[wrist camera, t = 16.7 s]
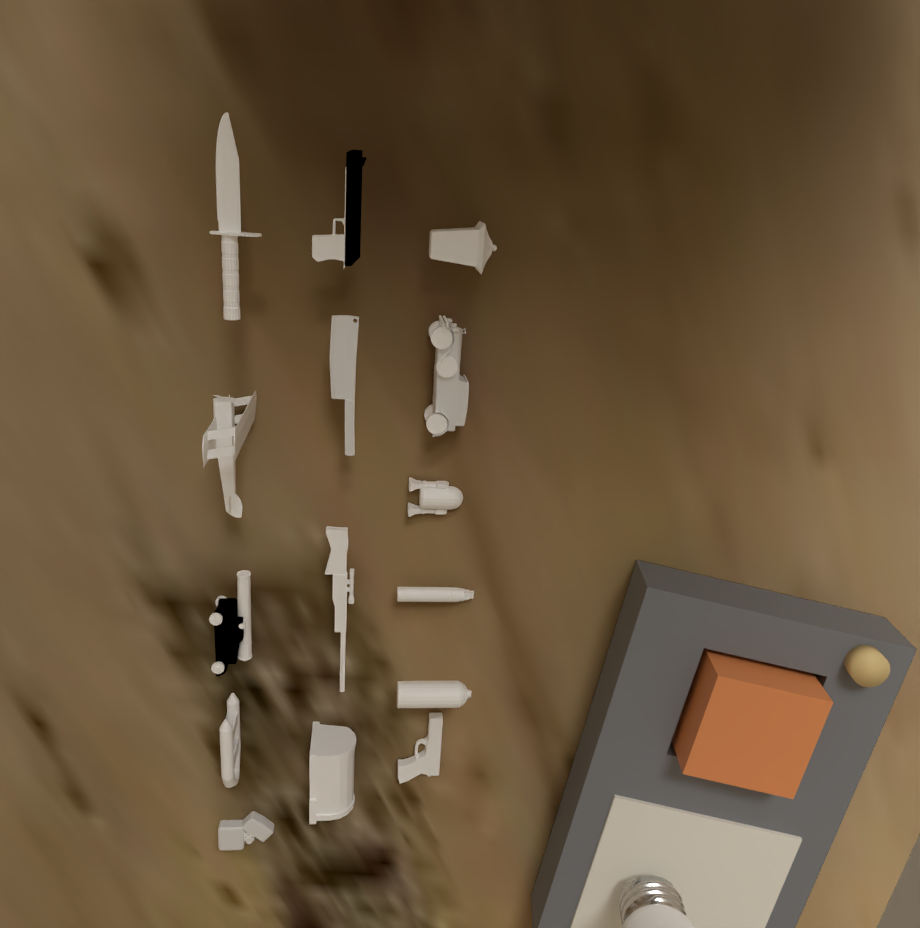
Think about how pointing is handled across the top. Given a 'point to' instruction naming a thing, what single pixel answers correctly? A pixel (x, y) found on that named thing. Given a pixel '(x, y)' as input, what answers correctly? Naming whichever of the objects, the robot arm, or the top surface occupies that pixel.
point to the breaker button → (750, 723)
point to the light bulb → (651, 904)
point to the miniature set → (233, 616)
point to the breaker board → (699, 800)
